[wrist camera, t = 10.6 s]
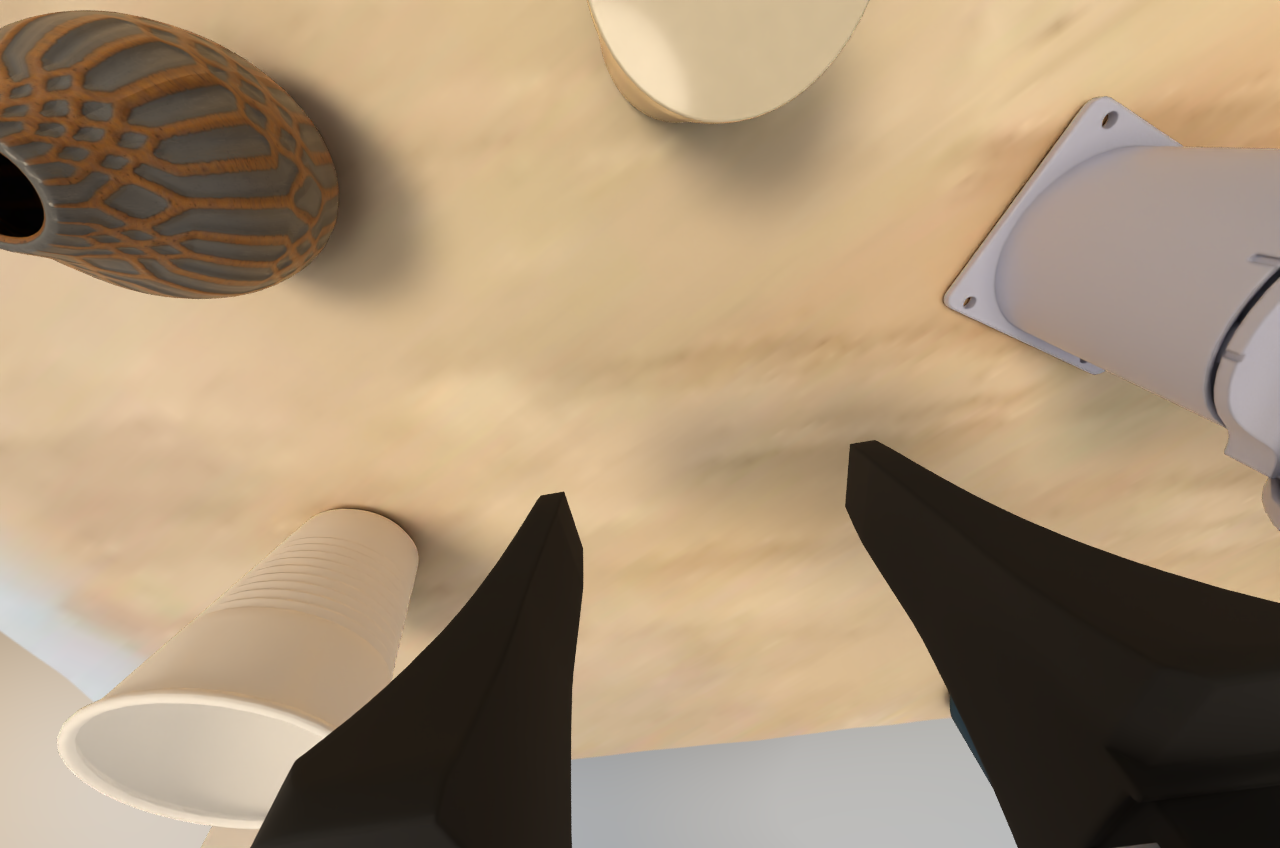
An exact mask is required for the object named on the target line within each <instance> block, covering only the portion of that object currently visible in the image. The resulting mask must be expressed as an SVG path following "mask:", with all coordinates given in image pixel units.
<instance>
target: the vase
mask: <svg viewBox="0 0 1280 848" xmlns="http://www.w3.org/2000/svg"><path fill="white" fill-rule="evenodd" d="M338 204H339V189H338V181H337V176H336V172H335V168H334V165H333V161H332V159H331V156H330V153H329V151H328V149H327V147H326V145H325V143H324V141H323V139H322V137H321V135H320V134H319V132H318V130H317V129H316V127H315V126H314V124H313V123H312V121H311V120H310V119H309V117H308V116H307V115H306V114H305V112H304V111H303V110H302V109H301V108H300V107H299V105H298V104H297V103H296V102H295V101H294V100H293V99H292V98H291V96H290V95H289V94H288V93H287V92H286V91H285V90H284V89H282V88H281V87H280V86H279V85H278V84H277V83H276V82H275V81H273V80H272V79H271V78H269V77H268V76H267V75H266V74H264V73H263V72H262V71H260V70H259V69H258V68H256V67H255V66H254V65H253V64H251V63H250V62H248V61H246V60H245V59H243V58H242V57H240V56H238V55H237V54H235V53H233V52H231V51H230V50H228V49H226V48H225V47H223V46H221V45H219V44H217V43H215V42H213V41H211V40H209V39H207V38H204V37H202V36H200V35H197V34H195V33H192V32H189V31H187V30H184V29H181V28H178V27H175V26H172V25H169V24H166V23H162V22H159V21H155V20H151V19H148V18H144V17H139V16H134V15H128V14H123V13H117V12H107V11H88V10H87V11H66V12H56V13H49V14H44V15H39V16H34V17H30V18H26V19H23V20H20V21H17V22H14V23H11V24H9V25H6V26H4V27H2V28H0V249H3V250H7V251H11V252H16V253H21V254H27V255H33V256H40V257H46V258H50V259H53V260H55V261H57V262H59V263H62V264H64V265H66V266H69V267H71V268H73V269H76V270H78V271H80V272H83V273H85V274H88V275H90V276H92V277H95V278H97V279H100V280H103V281H105V282H108V283H111V284H113V285H116V286H120V287H123V288H126V289H130V290H134V291H138V292H142V293H146V294H151V295H157V296H164V297H172V298H188V299H212V298H225V297H235V296H240V295H245V294H250V293H254V292H257V291H261V290H263V289H266V288H269V287H271V286H274V285H276V284H278V283H280V282H282V281H284V280H286V279H288V278H290V277H292V276H293V275H295V274H296V273H298V272H299V271H301V270H302V269H304V268H305V267H306V266H307V265H309V264H310V263H311V262H312V261H313V260H314V259H315V258H316V256H317V255H318V254H319V253H320V252H321V250H322V249H323V248H324V246H325V245H326V243H327V241H328V239H329V237H330V235H331V233H332V231H333V228H334V226H335V222H336V218H337V213H338Z"/></svg>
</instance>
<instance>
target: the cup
mask: <svg viewBox="0 0 1280 848" xmlns="http://www.w3.org/2000/svg"><path fill="white" fill-rule="evenodd" d="M418 561H419V556H418V551H417V548H416V546H415V544H414V542H413V540H412V539H411V538H410V536H409V535H408V534H407V533H406V532H405V531H404V530H403V529H402V528H401V527H400V526H399V525H397V524H396V523H394V522H393V521H391V520H390V519H388V518H386V517H383V516H381V515H379V514H376V513H373V512H370V511H364V510H359V509H335V510H329V511H325V512H321V513H319V514H317V515H315V516H313V517H311V518H310V519H309V520H307V521H306V522H305V523H304V524H303V525H302V526H300V527H299V528H298V529H297V530H296V531H295V532H294V533H292V534H291V535H290V536H289V537H288V538H287V539H285V540H284V541H283V542H282V543H281V544H280V545H279V546H277V547H276V548H275V549H274V550H273V551H272V552H271V553H269V554H268V555H267V556H266V557H265V558H264V559H263V560H261V561H260V562H259V563H258V564H257V565H256V566H255V567H253V568H252V569H251V570H250V571H249V572H248V573H246V574H245V575H244V576H243V577H242V578H241V579H240V580H238V581H237V582H236V583H235V584H234V585H233V586H232V587H230V588H229V589H228V590H227V591H226V592H225V593H224V594H222V595H221V596H220V597H219V598H218V599H217V600H215V601H214V602H213V603H212V604H211V605H210V606H208V607H207V608H206V609H205V610H204V611H203V612H202V613H200V614H199V615H198V616H197V617H196V618H195V619H193V620H192V621H191V622H190V623H189V624H188V625H186V626H185V627H184V628H183V629H182V630H181V631H179V632H178V633H177V634H176V635H175V636H174V637H172V638H171V639H170V640H169V641H168V642H167V643H166V644H164V645H163V646H162V647H161V648H160V649H159V650H158V651H156V652H155V653H154V654H153V655H152V656H151V657H149V658H148V659H147V660H146V661H145V662H144V663H143V664H141V665H140V666H139V667H138V668H137V669H136V670H134V671H133V672H132V673H131V674H130V675H129V676H128V677H126V678H125V679H124V680H123V681H122V682H121V683H119V684H118V685H117V686H116V687H115V688H114V689H113V690H111V691H110V692H109V693H108V694H107V695H106V696H104V697H103V698H102V699H100V700H98V701H96V702H94V703H91V704H89V705H87V706H85V707H83V708H81V709H79V710H78V711H77V712H75V713H74V714H73V715H72V716H71V717H70V718H69V719H68V720H66V721H65V723H64V724H63V726H62V728H61V730H60V733H59V735H58V737H57V745H58V753H59V755H60V756H61V758H62V760H63V761H64V763H65V765H66V766H67V768H68V769H69V770H70V771H71V772H73V773H74V774H75V775H76V776H77V777H78V778H79V779H80V780H81V781H83V782H84V783H86V784H87V785H89V786H91V787H92V788H94V789H95V790H97V791H98V792H100V793H102V794H104V795H106V796H108V797H111V798H113V799H115V800H117V801H119V802H121V803H124V804H126V805H129V806H132V807H134V808H137V809H140V810H143V811H146V812H149V813H153V814H156V815H160V816H164V817H167V818H171V819H176V820H180V821H186V822H191V823H196V824H202V825H209V826H217V827H225V828H241V829H260V827H261V825H262V823H263V822H264V820H265V818H266V816H267V814H268V812H269V810H270V808H271V806H272V804H273V802H274V800H275V798H276V796H277V794H278V792H279V790H280V788H281V786H282V784H283V782H284V780H285V778H286V777H287V775H288V773H289V771H290V769H291V767H292V765H293V764H294V762H295V760H297V759H298V758H299V757H301V756H302V755H303V754H305V753H306V752H307V751H308V750H310V749H311V748H312V747H313V746H315V745H316V744H317V743H319V742H320V741H321V740H322V739H324V738H325V737H326V736H327V735H329V734H330V733H331V732H332V731H334V730H335V729H336V728H337V727H339V726H340V725H341V724H342V723H344V722H345V721H346V720H348V719H349V718H350V717H351V716H352V715H354V714H355V713H356V712H357V711H358V710H360V709H361V708H362V707H363V706H364V705H365V704H367V703H368V702H369V701H370V700H371V699H372V698H373V697H375V696H376V695H377V694H378V693H379V692H380V691H381V690H383V689H384V688H385V687H386V686H387V685H388V684H389V683H390V682H391V680H392V676H393V670H394V668H395V661H396V658H397V652H398V649H399V645H400V640H401V637H402V631H403V629H404V622H405V620H406V614H407V611H408V605H409V602H410V597H411V594H412V590H413V585H414V581H415V577H416V572H417V568H418Z"/></svg>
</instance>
